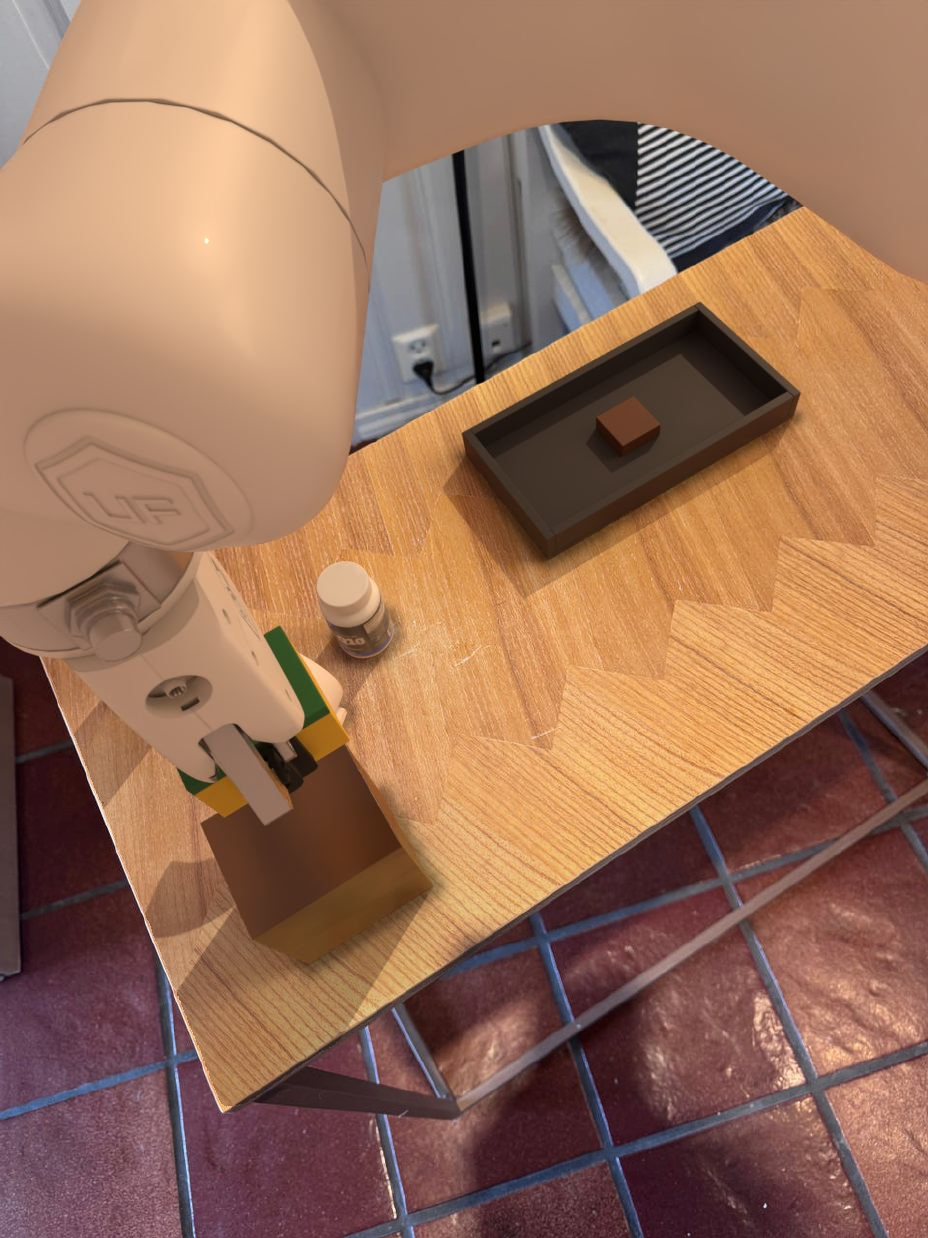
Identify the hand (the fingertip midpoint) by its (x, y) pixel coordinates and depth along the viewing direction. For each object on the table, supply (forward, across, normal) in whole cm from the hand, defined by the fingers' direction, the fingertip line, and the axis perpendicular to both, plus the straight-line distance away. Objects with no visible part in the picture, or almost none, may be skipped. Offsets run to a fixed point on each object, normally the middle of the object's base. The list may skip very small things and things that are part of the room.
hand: (262, 732), depth 43 cm
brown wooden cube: (+24, -1, +2) cm, 24 cm away
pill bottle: (+24, +16, -8) cm, 30 cm away
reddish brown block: (+24, +19, -37) cm, 48 cm away
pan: (+24, +19, -37) cm, 48 cm away
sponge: (+1, 0, 0) cm, 1 cm away
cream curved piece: (+24, +10, 0) cm, 26 cm away
